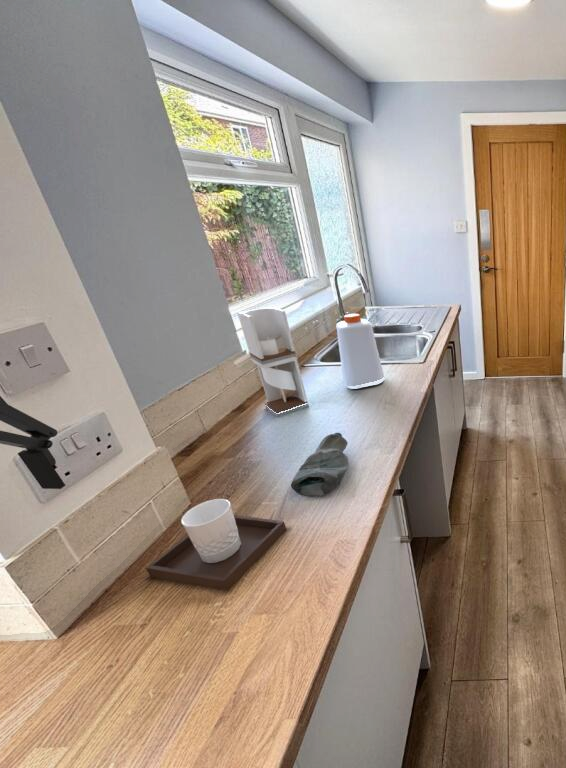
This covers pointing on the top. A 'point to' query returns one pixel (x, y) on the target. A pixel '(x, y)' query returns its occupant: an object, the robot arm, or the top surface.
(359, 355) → the plastic bottle
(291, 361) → the white tiered shelf stand
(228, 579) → the serving tray
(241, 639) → the top surface
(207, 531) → the white cup
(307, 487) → the grey hollow crumpled part
